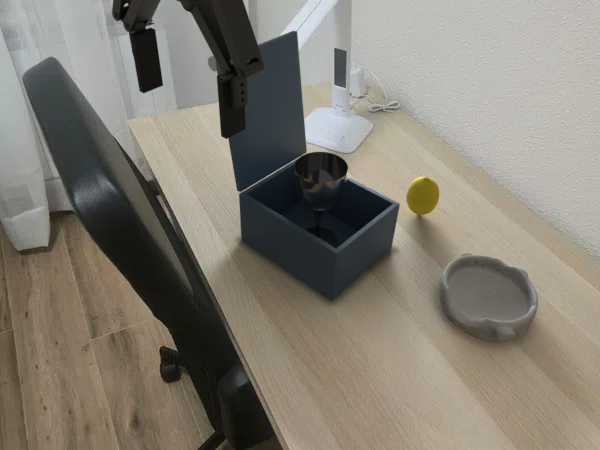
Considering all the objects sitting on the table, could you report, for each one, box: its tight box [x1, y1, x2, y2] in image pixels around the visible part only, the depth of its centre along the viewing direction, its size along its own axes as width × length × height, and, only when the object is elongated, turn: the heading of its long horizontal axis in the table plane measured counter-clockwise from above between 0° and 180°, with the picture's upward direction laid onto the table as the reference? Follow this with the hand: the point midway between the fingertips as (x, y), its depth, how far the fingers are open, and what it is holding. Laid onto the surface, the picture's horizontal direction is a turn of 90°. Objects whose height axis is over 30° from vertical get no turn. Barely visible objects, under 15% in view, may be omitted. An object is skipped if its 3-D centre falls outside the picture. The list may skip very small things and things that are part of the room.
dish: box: [438, 252, 539, 343], centre depth 81 cm, size 14×14×5 cm
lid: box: [207, 30, 308, 193], centre depth 86 cm, size 20×16×8 cm
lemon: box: [405, 176, 440, 216], centre depth 96 cm, size 6×6×8 cm
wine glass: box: [294, 151, 349, 249], centre depth 86 cm, size 8×8×15 cm
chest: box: [238, 158, 401, 302], centre depth 89 cm, size 20×16×10 cm
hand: (190, 109), depth 59 cm, fingers open, 13 cm apart
